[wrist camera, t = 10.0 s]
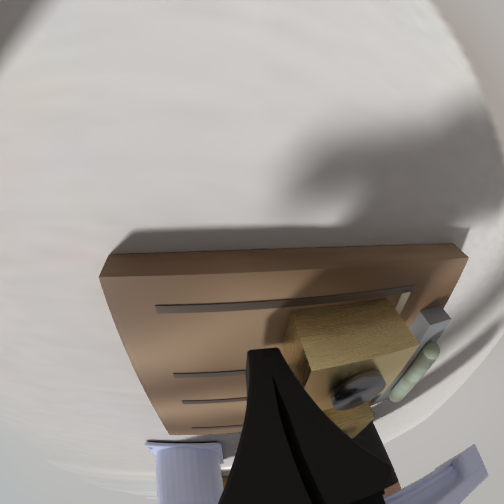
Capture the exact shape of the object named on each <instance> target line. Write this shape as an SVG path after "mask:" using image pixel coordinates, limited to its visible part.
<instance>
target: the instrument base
mask: <svg viewBox="0 0 504 504" xmlns="http://www.w3.org/2000/svg"><path fill="white" fill-rule="evenodd" d="M468 258H469V257H468V256H467V255H466V254H464V253H463V252H462V251H461V250H460V249H459V248H458V247H457V246H455V245H454V244H425V245H391V246H357V247H324V248H292V249H261V250H230V251H200V252H171V253H142V254H113V255H109V256H108V258H107V260H106V262H105V264H104V267H103V269H102V271H101V273H100V275H99V279H100V282H101V286H102V289H103V292H104V295H105V298H106V301H107V304H108V306H109V309H110V312H111V315H112V317H113V320H114V323H115V325H116V328H117V330H118V333H119V335H120V338H121V340H122V343H123V345H124V347H125V350H126V352H127V354H128V357H129V359H130V361H131V363H132V365H133V367H134V370H135V372H136V374H137V376H138V378H139V380H140V382H141V384H142V386H143V388H144V390H145V392H146V394H147V396H148V398H149V400H150V401H151V403H152V405H153V407H154V409H155V411H156V412H157V414H158V416H159V418H160V419H161V421H162V423H163V425H164V426H165V428H166V430H167V431H168V433H169V435H206V434H225V433H238V432H242V428H243V423H244V418H245V413H246V406H247V388H246V375H245V373H246V360H247V351H249V350H254V349H264V348H274V347H277V348H279V349H280V351H281V350H282V346H283V341H284V337H285V332H286V328H287V323H288V318H289V313H290V311H297V310H307V309H317V308H326V307H334V306H342V305H350V304H358V303H365V302H372V301H379V300H386V299H388V300H389V301H390V302H391V304H392V305H393V307H394V308H395V309H396V311H397V312H398V314H399V315H400V317H401V318H402V319H403V321H404V322H405V324H406V325H407V327H408V328H409V330H410V331H411V333H412V334H413V336H414V337H415V339H416V340H417V342H418V343H419V346H418V348H417V349H416V351H415V352H414V354H413V355H412V356H411V358H410V359H409V361H408V362H407V363H406V365H405V366H404V368H403V369H402V370H401V372H400V373H399V374H398V376H397V377H396V378H395V379H394V381H393V382H392V383H391V385H390V386H389V387H388V388H387V390H386V391H385V392H384V393H383V394H380V395H377V396H376V397H375V398H373V399H372V400H370V401H368V402H369V405H370V406H371V405H374V404H376V403H379V402H381V401H384V400H387V399H390V400H391V401H393V402H399V401H401V400H402V399H403V398H404V397H405V396H406V395H407V394H408V393H409V392H410V390H411V389H412V388H413V387H414V386H415V385H416V384H417V382H418V381H419V380H420V379H421V378H422V377H423V375H424V374H425V373H426V372H427V370H428V369H429V368H430V367H431V365H432V364H433V363H434V362H435V360H436V359H437V358H438V356H439V353H440V349H439V346H438V345H437V344H436V341H437V340H438V338H439V337H440V335H441V334H442V332H443V331H444V329H445V328H446V326H447V325H448V323H449V321H450V320H451V318H450V317H449V316H448V314H447V313H446V312H445V311H444V309H443V308H444V306H445V305H446V303H447V301H448V299H449V297H450V295H451V293H452V292H453V290H454V288H455V286H456V284H457V282H458V280H459V278H460V276H461V273H462V271H463V269H464V267H465V265H466V263H467V260H468Z"/></svg>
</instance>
